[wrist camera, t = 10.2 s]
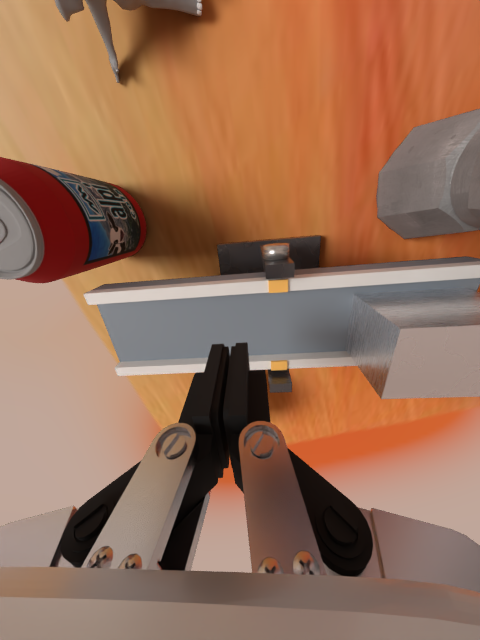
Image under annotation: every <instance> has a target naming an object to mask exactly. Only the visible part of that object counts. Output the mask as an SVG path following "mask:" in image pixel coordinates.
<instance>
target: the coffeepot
mask: <svg viewBox="0 0 480 640" xmlns="http://www.w3.org/2000/svg"><path fill="white" fill-rule="evenodd" d="M376 197H377V208H378V214H377V217H378V218H379V219H380V220H381V221H383V222H384V223H385V224H386V225H387V226H388V227H389V228H390V229H391V230H393V231H395V232H396V233H397V234H399V235H400V236H401V237H402V238H404V239H408V238H416V237H425V236H434V235H443V234H452V233H460V232H468V231H475V230H480V109H476V110H473V111H470V112H466V113H463V114H459V115H456V116H452V117H449V118H445V119H442V120H438V121H435V122H432V123H428V124H425V125H421V126H418V127H414V128H413V129H412V131H411V132H410V133H409V134H408V136H407V137H406V138H405V140H404V141H403V142H402V143H401V144H400V145H399V147H398V148H397V149H396V150H395V151H394V152H393V154H392V155H391V157H390V158H389V160H388V161H387V163H386V164H385V166H384V167H383V168H382V170H381V171H380V172H379V178H378V188H377V196H376Z"/></svg>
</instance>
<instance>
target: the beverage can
mask: <svg viewBox="0 0 480 640" xmlns="http://www.w3.org/2000/svg"><path fill="white" fill-rule="evenodd" d="M145 238H146V221H145V218H144V215H143V212H142V210H141V208H140V206H139V205H138V203H137V202H136V200H135V199H134V198H133V197H132V196H131V195H130V194H129V193H128V192H127V191H125V190H124V189H122V188H121V187H119V186H116V185H114V184H111V183H107V182H103V181H99V180H95V179H91V178H87V177H83V176H79V175H75V174H71V173H67V172H63V171H59V170H54V169H50V168H46V167H42V166H37V165H33V164H29V163H24V162H20V161H15V160H11V159H6V158H2V157H0V279H16V280H21V281H26V282H32V283H48V282H52V281H55V280H59V279H62V278H65V277H68V276H72V275H75V274H78V273H81V272H85V271H88V270H91V269H94V268H97V267H100V266H103V265H106V264H109V263H112V262H115V261H118V260H121V259H124V258H127V257H129V256H132V255H134V254H135V253H137V252H138V251H139V250H140V248H141V247H142V245H143V244H144V241H145Z"/></svg>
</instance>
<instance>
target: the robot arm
mask: <svg viewBox="0 0 480 640" xmlns="http://www.w3.org/2000/svg"><path fill="white" fill-rule="evenodd" d="M229 456H230V460H231V465H232V468H233V473H234V478H235V483H236V484H237V486H238V487H239V488H240V489H241V491H242V492H243V493H244V499H245V509H246V518H247V528H248V537H249V546H250V555H251V564H252V573H241V572H210V571H209V572H208V571H191V567H192V563H193V559H194V556H195V552H196V548H197V544H198V541H199V537H200V533H201V529H202V525H203V521H204V517H205V514H206V510H207V506H208V502H209V499H210V492H211V489H212V488H213V487H214V486H215V485H216V484H217V483H218V478H222V477H223V469H224V468H228V466H229ZM0 640H480V545H478V544H477V543H475V542H474V541H473V540H471V539H470V538H469V537H467V536H466V535H464V534H461V533H459V532H457V531H454V530H452V529H448V528H445V527H441V526H437V525H434V524H430V523H426V522H422V521H419V520H415V519H411V518H407V517H404V516H400V515H396V514H392V513H389V512H385V511H382V510H378V509H374V508H371V511H369V510H366V509H362V508H358V507H356V505H355V504H354V503H353V502H352V501H350V500H349V499H348V498H347V497H346V496H344V495H343V494H342V493H341V492H340V491H338V490H337V489H336V488H335V487H334V486H332V485H331V484H330V483H329V482H328V481H326V480H325V479H324V478H323V477H322V476H320V475H319V474H318V473H317V472H316V471H315V470H313V469H312V468H311V467H309V465H307V464H306V463H305V462H304V461H303V460H301V459H300V458H299V457H298V456H297V455H295V454H294V453H293V452H292V451H291V450H289V449H288V448H287V446H286V442H285V439H284V436H283V434H282V432H281V431H280V430H279V429H278V428H277V426H275V425H273V424H272V423H270V414H269V403H268V393H267V383H266V373H265V370H250V365H249V353H248V343H247V342H245V343H236V346H232V347H231V354H230V353H229V347H228V346H227V347H225V346H224V344H212V346H211V349H210V353H209V356H208V360H207V363H206V367H205V371H204V372H199V373H195V375H194V377H193V380H192V383H191V386H190V389H189V392H188V395H187V398H186V401H185V404H184V407H183V410H182V413H181V416H180V419H179V422H178V423H175V424H172V425H169V426H167V427H165V428H164V429H163V430H161V432H159V433H158V434H157V436H156V437H155V438H154V440H153V441H152V443H151V445H150V447H149V449H148V450H147V452H146V454H145V456H144V457H143V459H142V461H140V462H139V463H137V464H136V465H135V466H133V467H132V468H131V469H130V470H128V471H127V472H125V473H124V474H123V475H121V476H120V477H119V478H118V479H116V480H115V481H113V482H112V483H111V484H109V485H108V486H107V487H105V488H104V489H103V490H101V491H100V492H99V493H97V494H96V495H95V496H93V497H92V498H91V499H89V500H88V501H87V502H86V503H85V504H84V505H82V506H81V507H80V508H75V507H74V506H71V507H67V508H64V509H60V510H56V511H52V512H49V513H45V514H41V515H38V516H34V517H30V518H26V519H23V520H19V521H15V522H11V523H8V524H5V525H3V526H1V527H0Z"/></svg>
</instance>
